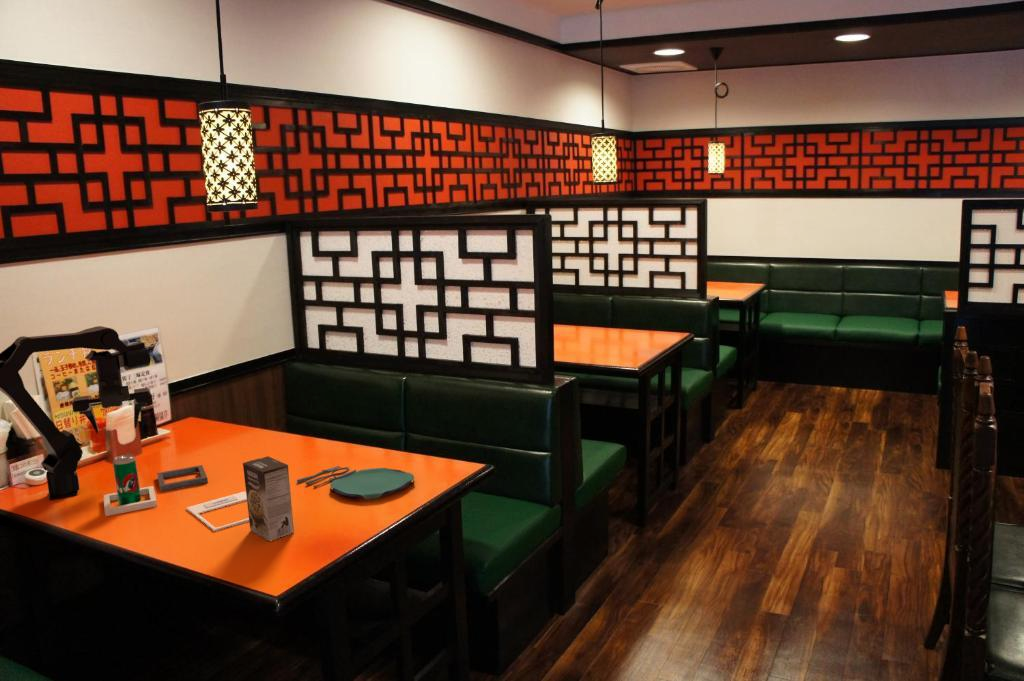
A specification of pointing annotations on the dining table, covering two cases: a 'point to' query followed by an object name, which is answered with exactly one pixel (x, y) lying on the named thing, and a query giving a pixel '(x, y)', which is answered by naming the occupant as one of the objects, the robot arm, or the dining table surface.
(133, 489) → the soda can
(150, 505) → the front socket
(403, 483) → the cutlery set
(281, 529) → the coffee box
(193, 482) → the back socket
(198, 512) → the photo frame
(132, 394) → the robot arm
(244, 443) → the dining table surface
